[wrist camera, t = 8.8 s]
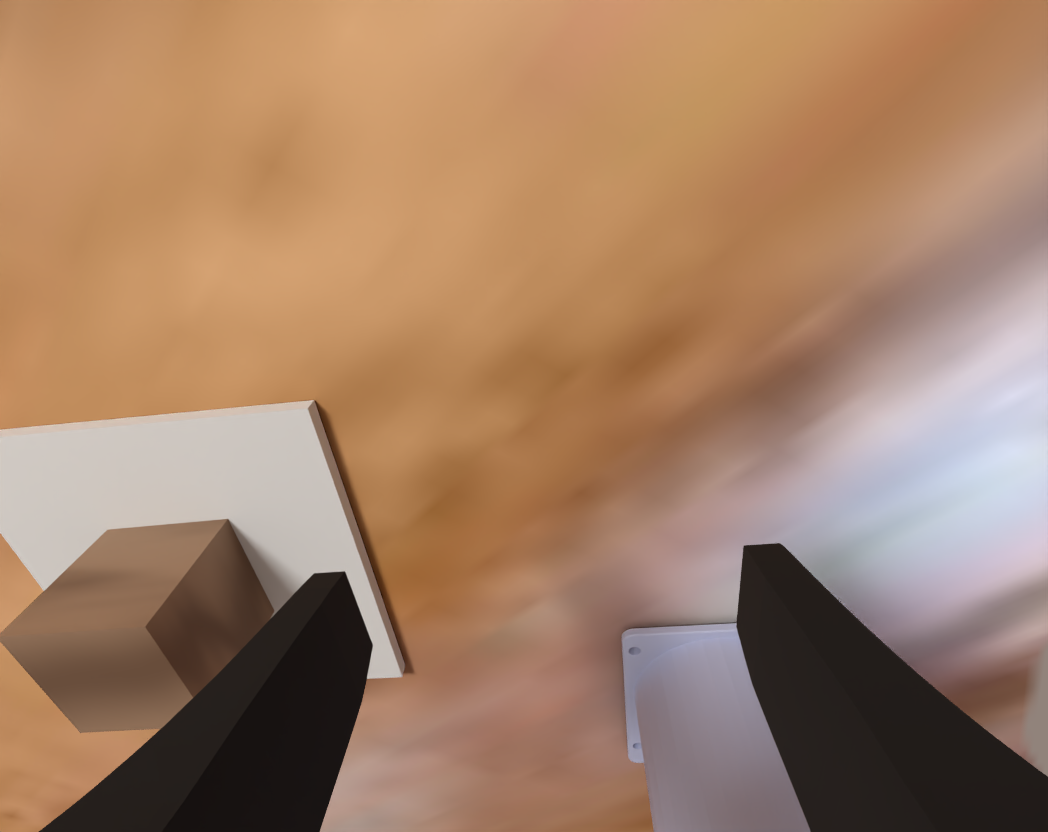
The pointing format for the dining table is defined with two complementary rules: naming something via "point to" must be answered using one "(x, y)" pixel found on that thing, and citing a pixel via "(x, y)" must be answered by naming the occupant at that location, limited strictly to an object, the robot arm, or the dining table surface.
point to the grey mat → (195, 497)
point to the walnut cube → (140, 624)
